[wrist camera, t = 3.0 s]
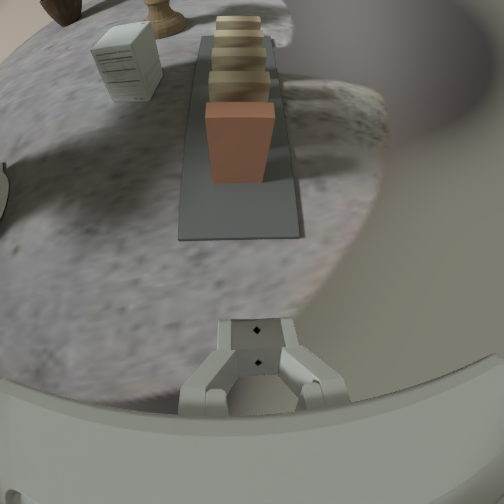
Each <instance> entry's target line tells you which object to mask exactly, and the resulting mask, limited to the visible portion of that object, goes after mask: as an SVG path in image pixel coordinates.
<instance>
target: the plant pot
mask: <svg viewBox="0 0 504 504" xmlns="http://www.w3.org/2000/svg"><path fill="white" fill-rule="evenodd" d="M40 3H41V5H42V7H43V8H44V9H45V11H46V12H47V13H48V14H49V15H50V16H51V17H52V18H53V19H54V20H55V21H56V22H57V23H58V24H60V25H61V26H62V27H65V26H67V25H70V24H71V23H73V22H75V21H76V20H78V19H79V18H80V17H81V9H82V0H41V1H40Z"/></svg>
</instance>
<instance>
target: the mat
mask: <svg viewBox="0 0 504 504" xmlns="http://www.w3.org/2000/svg"><path fill="white" fill-rule="evenodd" d="M212 48H214V36H202V38H201V43H200V48H199V53H198V59H197V64H196V70H195V75H194V81H193V87H192V94H191V100H190V107H189V115H188V122H187V130H186V139H185V148H184V157H183V168H182V179H181V192H180V206H179V224H178V240H179V241H204V240H249V239H298V238H299V237H300V236H299V226H298V216H297V206H296V197H295V189H294V180H293V172H292V164H291V156H290V149H289V142H288V135H287V128H286V121H285V115H284V109H283V102H282V96H281V90H280V85H279V79H278V73H277V68H276V64H275V57H274V52H273V47H272V42H271V37H270V36H264V38H263V47H262V48H266V55H267V59H266V67H265V71H266V72H269V75H270V81H271V84H270V90H269V97H268V103H274V111H275V122H274V127H273V132H272V137H271V142H270V147H269V152H268V157H267V161H266V166H265V171H264V176H263V181H262V183H220V184H213V179H212V171H211V164H210V156H209V148H208V139H207V131H206V122H205V113H206V103H210V98H209V85H208V81H209V72H210V71H212V60H211V55H212Z"/></svg>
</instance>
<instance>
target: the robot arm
mask: <svg viewBox="0 0 504 504" xmlns="http://www.w3.org/2000/svg"><path fill="white" fill-rule="evenodd" d="M8 190H9V183H8V178H7V176H6V175H5V174H4V172H3V164H2V163H1V162H0V219H1V217H2V214H3V211H4V209H5V205H6V202H7V197H8ZM257 375H278V376H279V377H280V378H281V379H282V380H283V382H284V383H285V384H286V385H287V386H288V387H289V388H290V389H291V391H292V392H293V393H294V394H295V395H296V396H297V397H298V398H299V400H298V403H297V406H296V409H295V412H288V413H279V414H266V415H249V416H229V415H228V407H227V400H226V395H227V393H228V392H229V390H230V388H231V387H232V385H233V384H234V382H235V381H236V379H237V377H241V376H242V377H243V376H257ZM0 504H504V357H502V356H500V355H498V354H491V355H489V356H487V357H485V358H483V359H481V360H479V361H476V362H474V363H472V364H470V365H468V366H465V367H463V368H461V369H458V370H456V371H453V372H451V373H449V374H446V375H443V376H441V377H438V378H436V379H433V380H430V381H427V382H424V383H421V384H418V385H415V386H412V387H409V388H406V389H403V390H399V391H396V392H393V393H389V394H385V395H381V396H377V397H374V398H369V399H365V400H361V401H356V402H351V401H350V398H349V395H348V392H347V389H346V386H345V383H344V380H343V377H341V376H340V375H339V374H338V373H336V372H335V371H334V370H333V369H331V368H330V367H329V366H327V365H326V364H325V363H324V362H323V361H321V360H320V359H319V358H317V357H316V356H315V355H314V354H313V353H312V352H310V351H309V350H308V349H307V348H306V347H304V346H300V345H299V341H298V337H297V333H296V329H295V326H294V322H293V318H292V317H282V318H266V319H231V320H219V321H218V341H217V350H213V352H212V353H211V354H210V355H209V356H208V357H207V358H206V360H205V361H204V362H203V363H202V364H201V365H200V366H199V368H198V369H197V370H196V371H195V372H194V373H193V374H192V375H191V377H190V378H189V379H188V380H187V381H186V382H185V383H184V384H183V386H182V387H181V391H180V400H179V409H178V415H170V414H159V413H149V412H140V411H132V410H125V409H119V408H113V407H108V406H102V405H97V404H92V403H88V402H83V401H79V400H75V399H71V398H67V397H63V396H59V395H56V394H52V393H49V392H46V391H42V390H39V389H36V388H33V387H30V386H27V385H24V384H22V383H19V382H16V381H14V380H11V379H8V378H4V379H2V380H0Z"/></svg>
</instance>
